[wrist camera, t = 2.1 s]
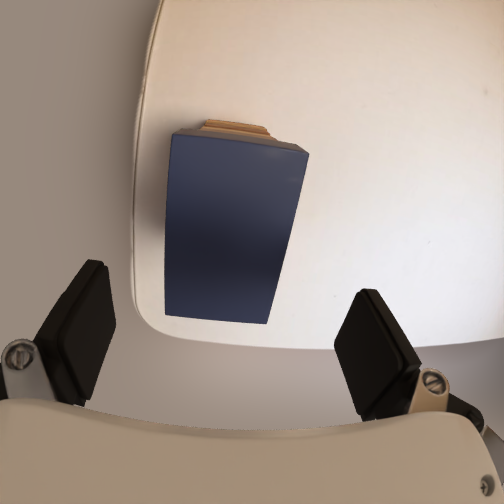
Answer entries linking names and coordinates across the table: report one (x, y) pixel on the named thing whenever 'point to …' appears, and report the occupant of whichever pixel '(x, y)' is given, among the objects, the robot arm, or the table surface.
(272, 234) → the navy book
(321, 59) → the table surface
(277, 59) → the table surface
